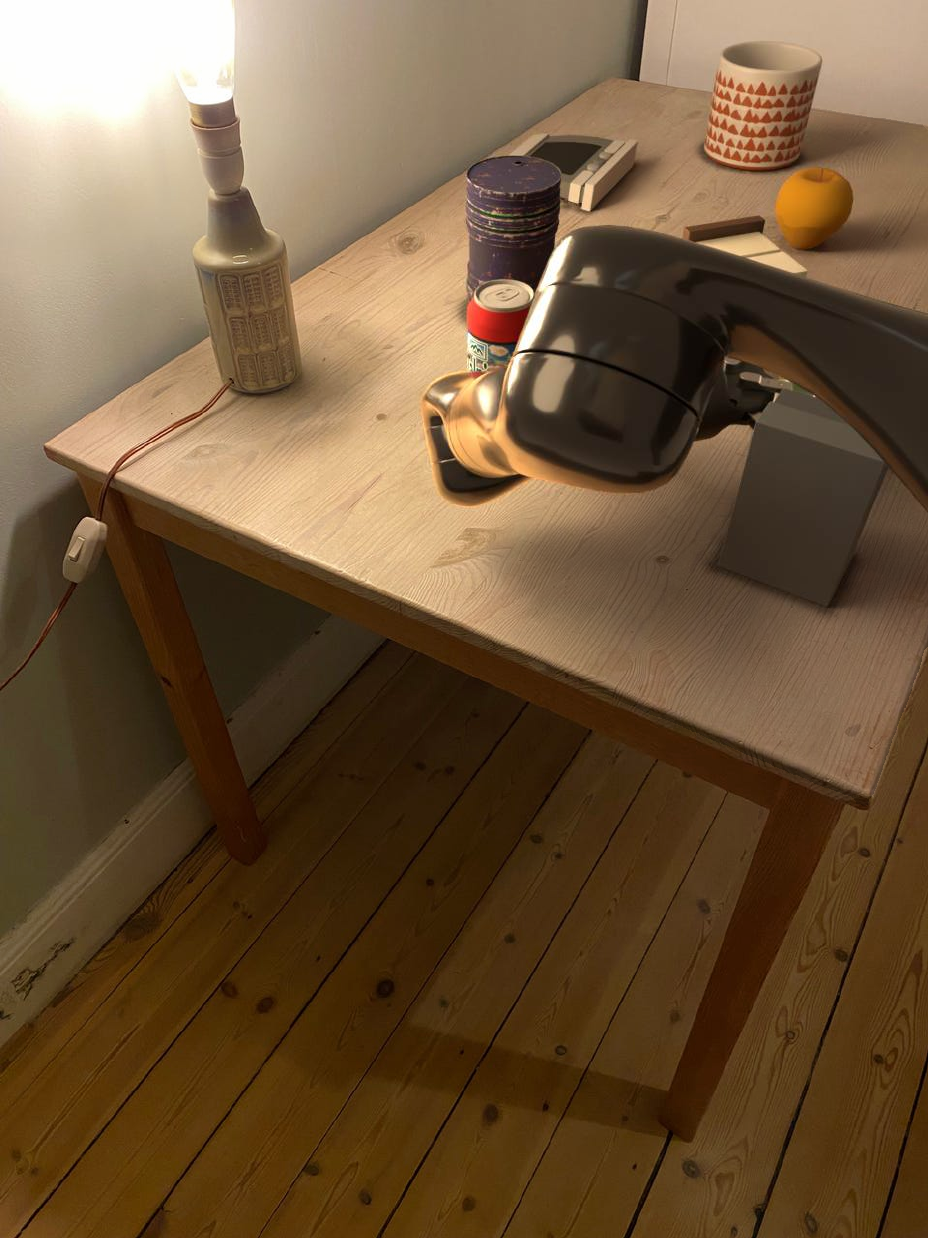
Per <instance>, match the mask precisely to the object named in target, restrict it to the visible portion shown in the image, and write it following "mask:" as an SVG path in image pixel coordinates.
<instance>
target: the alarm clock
mask: <svg viewBox="0 0 928 1238" xmlns="http://www.w3.org/2000/svg"><path fill="white" fill-rule="evenodd" d="M638 145H639V140H636V139H633V138H629V139H628V140H627V141H623V140H620V139H614V140H613V139H609V138H605V137H604V138H603V137H598V136H591V135H577V134H576V135H575V134H574V135H573V134H572V135H571V134H570V135H569V134H564V135H562V134H561V135H550V133H549V132H546V133H535V134H533V135H531V136H530V137H529V138H527V139H526V140H525V141H524V142H523V143H521V144H519V145H518V146H517V147H515V149H514V150H512V151H511V152H510V153H509V154H507V156H509V155H518V156H530V157H535V158H540V159H543V160H546V161H549V162H551V163H553V164H554V165H556V166H557V167H558V168H559V169H560V171H561V185H560V198H563V199H565V200H567V202H571V203H575V204H578V205H579V204H580V203H581V208H580V209H581V210H583V211H586V212H591V211H592V210H593V209H594V208H595V207H596V206H597V205H598V204H599V203H600V201H602V200H603V198H604V197H605V196H606V195H607V194H608V193H610V191H611V190H612V189H613V188H614V187H615V186H616V185H617V184H618V182H620V181H621V179H623V177H624V176H625V175H626V174H627V173H628V172H629V171H630V170H632V168H633V167H634V165H635V160H636V154H637V149H638Z"/></svg>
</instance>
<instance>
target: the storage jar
mask: <svg viewBox="0 0 928 1238" xmlns="http://www.w3.org/2000/svg"><path fill="white" fill-rule="evenodd" d="M508 155H509V154H508ZM508 155H498V156H492V157H487V158H484V159H481V160H479V161H477V162H475V163H473V164H472V165H471V166H469V167H468V168H467V170H466V174H465V176H466V177H465V179H466V181H465V183H466V188H465V189H466V191H465V192H466V193H465V195H466V197H465V213H466V217H465V225H466V231H467V233H468V261H467V264H466V279H465V281H466V282H465V285H466V287H465V288H466V289H465V290H466V294H467V296H466V297H467V301H468V302H467V307H468V306H469V304H470V302H471V300H472V299H473V297H474V294H475V290H476V289H477V288H478V287H479V286H480V285H482V284H484V283H486V282H489V281H493V280H501V279H508V280H516V281H520V282H523V283H525V284H527V285H528V286H530V287H531V288H532V289H533V291H534V296H535V292H536V290H537V287H538V285H539V282H540V280H541V277H542V275H543V272H544V270H545V267H546V265H547V262H548V260H549V258H550V256H551V254H552V252H553V250H554V248H555V247H556V234H557V232H558V230H559V225H560V218H559V216H560V214H561V202H562V201H561V197H560V185H561V171H560V169H559V168H558V167H557V166H556V165H554V164H553V163H551V162H549V161H546V160H543V159H540V158H535V157H530V156H518V155H509V156H508Z"/></svg>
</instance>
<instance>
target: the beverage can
mask: <svg viewBox="0 0 928 1238" xmlns="http://www.w3.org/2000/svg"><path fill="white" fill-rule="evenodd" d="M534 297H535V296H534V291H533V289H532V288H531V287H530V286H528V285H527V284H525V283H523V282H520V281H516V280H508V279H501V280H493V281H489V282H486V283H484V284H482V285H480V286H479V287H478V288H477V289H476V290H475V294H474V297H473V299H472V300H471V302H470V304H469V306H468V305H467V308H466V369H467V370H466V371H484V372H489V371H490V370H493V369H496V368H499V367H502V366H509V363H510V360H511V359H512V356H513V354H514V351H515V348H516V345H517V343H518V340H519V337H520V335H521V332H522V329H523V327H524V324H525V321H526V318H527V316H528V313H529V310H530V308H531V305H532V302H533V300H534Z"/></svg>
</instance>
